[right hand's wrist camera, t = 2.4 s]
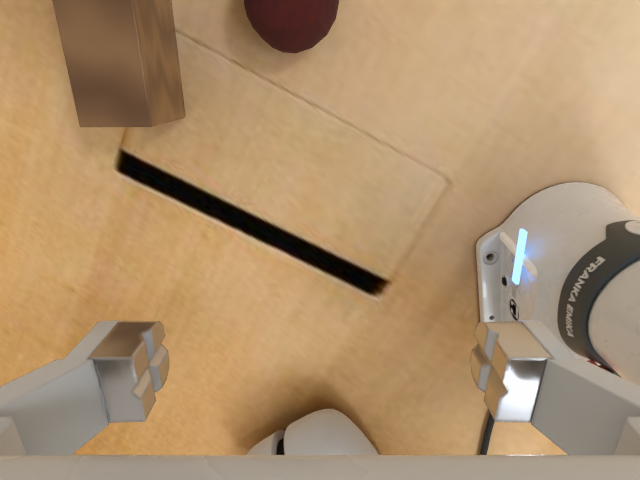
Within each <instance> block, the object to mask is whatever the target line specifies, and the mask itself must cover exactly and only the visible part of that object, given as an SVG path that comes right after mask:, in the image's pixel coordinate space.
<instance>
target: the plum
mask: <svg viewBox="0 0 640 480" xmlns="http://www.w3.org/2000/svg"><path fill="white" fill-rule="evenodd" d="M338 4H339V0H244V5H245V9H246V13H247V17H248V19H249V21H250V23H251V24H252V26H253V28H254V29H255V30H256V32H257V33H258V34H259V35H260V36H261V37H262V38H263V39H264V40H265V41H266V42H267V43H268V44H269V45H271V46H272V47H273V48H275V49H277V50H279V51H282V52H288V53H298V52H301V51H304V50H307V49H310V48H312V47H313V46H315V45H316V44H317V43H318V42H319V41H320V40H322V39H323V38H324V37H325V36H326V35H327V34H328V32H329V30H330V28H331V26H332V24H333V23H334V21H335V19H336V15H337V9H338Z"/></svg>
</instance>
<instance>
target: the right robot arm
mask: <svg viewBox="0 0 640 480" xmlns="http://www.w3.org/2000/svg"><path fill="white" fill-rule="evenodd" d="M488 254H492V255H491V257H489V258H486V257H487V255H488ZM476 258H477V275H478V291H479V307H480V322H478V324H477V326H476V330H475V338H476V339H477V341H478V343H479V344H478V345H477V346H476V347H475V348H474V349H473V350H472V354H471V372H472V376H473V379H474V381H475V383H476V386H477V387H478V388H479V389H481V390H482V391H483V392H485V398H484V401H485V403H486V405H487V407H488V409H489V411H490V416H489V419H488V423H487V426H486V430H485V434H484V439H483V444H482V449H481V453H480V455H72V454H73V453H74V452H76V451H77V450H78V449H79V448H81V447H82V446H83V445H84V444H86V443H87V442H88V441H89V440H90V439H92V438H93V437H94V436H95V435H97V434H98V433H99V432H100V431H101V430H103V429H104V428H105V427H106V426H108V425H109V423H110V422H145V421H146V419H147V417H148V415H149V413H150V411H151V409H152V407H153V405H154V403H155V401H156V398H155V392H157V391H158V390H159V389H161V388H162V387H163V386H164V383H165V381H166V379H167V375H168V371H169V354H168V350H167V349H166V348H165V347H164V346H163V345H162V344H161V343H162V341H163V339H164V338H165V331H164V326H163V324H162V323H161V322H160V321H120V320H115V321H100V322H98V323H97V324H96V325H95V326H94V327H93V328H92V329H91V330H90V331H89V332H88V333H87V334H86V336H85V337H84V338H83V339H82V340H81V341H80V342H79V343H78V344H77V345H76V346H75V347H74V349H73V350H72V351H71V352H70V353H69V354H68V355H67V356H66V357H65V358H64V359H57V360H55V361H53V362H50V363H48V364H46V365H44V366H42V367H40V368H38V369H36V370H34V371H32V372H29V373H27V374H25V375H23V376H21V377H19V378H17V379H15V380H13V381H11V382H8V383H6V384H4V385H2V386H0V480H640V217H638V216H636V215H635V214H634V213H632V212H631V211H630V210H628V209H627V208H626V207H625V206H624V205H623V204H622V203H621V202H620V201H619V199H618V198H617V197H616V196H615V195H614V194H612V193H611V192H610V191H608V190H606V189H605V188H603V187H600V186H598V185H595V184H591V183H584V182H570V183H563V184H559V185H555V186H552V187H549V188H546V189H544V190H542V191H540V192H538V193H536V194H534V195H533V196H531V197H530V198H528V199H527V200H526V201H524V202H523V203H522V204H521V205H520V206H519V207H518V208H517V209H516V210H515V211H514V212H513V213H512V214H511V215H510V216H509V217H508V219H507V220H506V221H505V222H504V223H503V224H501V225H500V226H499V227H497V228H495V229H493V230H491V231H490V232H488V233H486V234H485V235H483V236H482V237H481V238H480V239H479V240H478V241H477V244H476ZM494 422H530V423H531V425H533V426H534V427H535V428H536V429H537V430H539V431H540V432H541V433H542V434H544V435H545V436H546V437H547V438H548V439H550V440H551V441H552V442H553V443H555V444H556V445H557V446H558V447H560V448H561V449H562V450H563V451H564V452H566V453H567V454H568V455H486V454H487V450H488V445H489V441H490V436H491V432H492V428H493V425H494Z"/></svg>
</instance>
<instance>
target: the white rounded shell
mask: <svg viewBox="0 0 640 480" xmlns="http://www.w3.org/2000/svg"><path fill="white" fill-rule="evenodd" d="M246 455H379V454H378V452H377V451H376V449H375V448H374V447H373V445H372V444H371V442H370V441H369V440H368V439H367V437H366V436H365V435H364V434H363V433H362V431H361V430H360V429H359V428H358V427H357V426H356V425H355V424H354V423H353V422H352V421H351V420H350V419H349V418H348V417H347V416H346V415H344V414H343V413H341V412H340V411H338V410H335V409H322V410H318V411H315V412H313V413H310V414H308V415H306V416H304V417H302V418H300V419H298V420H296V421H295V422H293V423H291V424H290V425H289V426H288V427H287V428H286V431H284V430H279V431H277V432H275V433H273V434H272V435H270V436H268V437H267V438H265V439H263V440H262V441H260V442H259V443H257V444H256V445H255V446H254V447H252V448H251V449H250V450H249V452H248V453H247V454H246Z"/></svg>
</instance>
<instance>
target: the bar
mask: <svg viewBox="0 0 640 480" xmlns="http://www.w3.org/2000/svg"><path fill="white" fill-rule="evenodd" d="M53 4H54V8H55V13H56V18H57V22H58V27H59V32H60V36H61V41H62V45H63V50H64V55H65V59H66V64H67V69H68V73H69V78H70V83H71V87H72V92H73V96H74V101H75V106H76V110H77V115H78V120H79V124H80V127H152V126H156V125H159V124H163V123H166V122H170V121H173V120H177V119H181V118H184V117H185V110H184V101H183V93H182V85H181V77H180V68H179V60H178V52H177V44H176V36H175V27H174V19H173V11H172V3H171V0H53Z"/></svg>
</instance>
